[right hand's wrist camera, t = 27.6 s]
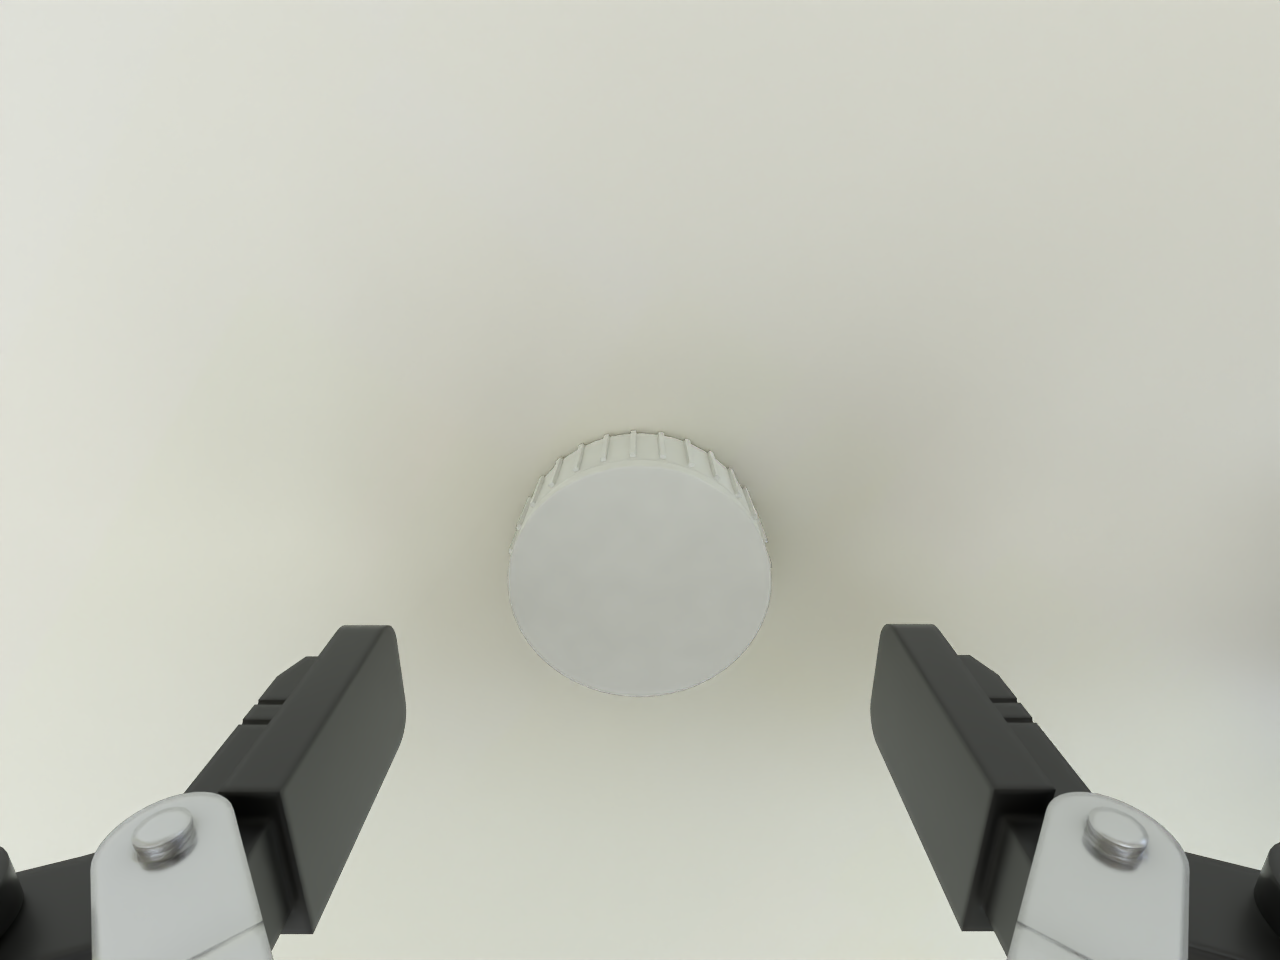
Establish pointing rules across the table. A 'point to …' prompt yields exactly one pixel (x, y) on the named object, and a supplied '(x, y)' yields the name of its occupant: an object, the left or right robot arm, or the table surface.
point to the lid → (639, 566)
